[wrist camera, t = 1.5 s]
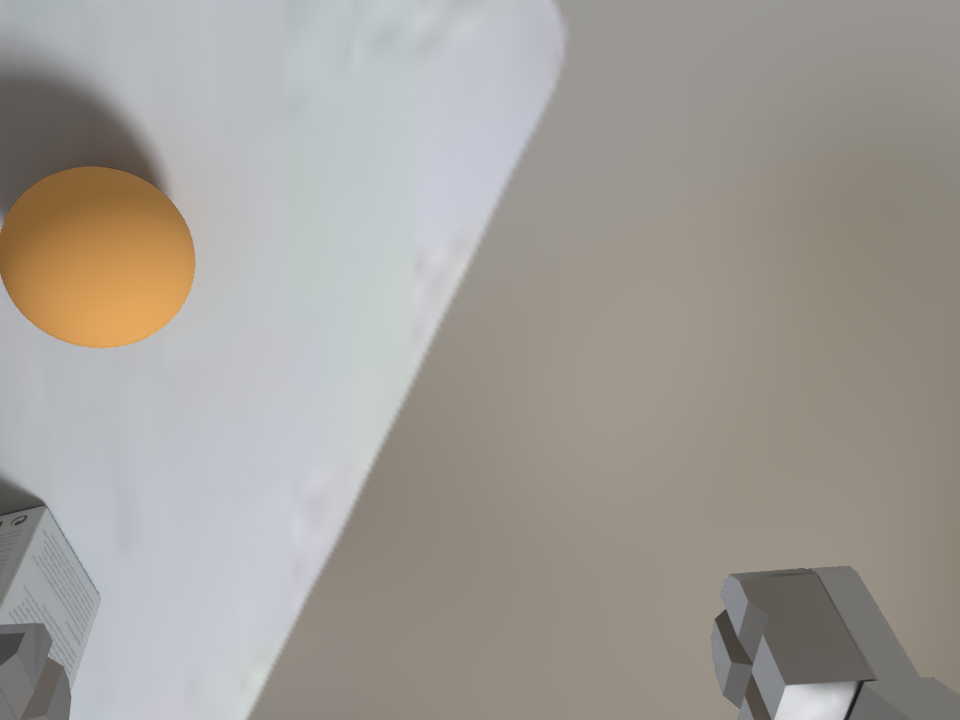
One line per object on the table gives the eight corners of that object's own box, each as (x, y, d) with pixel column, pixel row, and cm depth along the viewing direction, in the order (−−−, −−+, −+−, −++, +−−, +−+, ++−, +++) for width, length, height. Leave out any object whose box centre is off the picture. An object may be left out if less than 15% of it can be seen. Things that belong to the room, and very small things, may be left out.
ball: (222, 290, 33) (200, 368, 28) (61, 309, 32) (9, 392, 27) (184, 135, 30) (152, 190, 25) (6, 154, 29) (-65, 214, 24)
